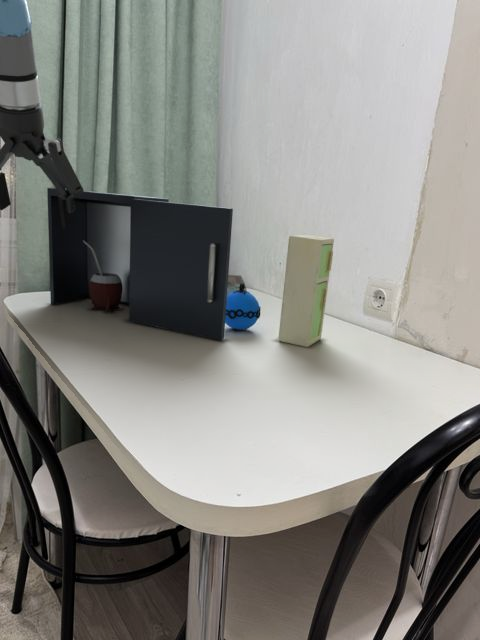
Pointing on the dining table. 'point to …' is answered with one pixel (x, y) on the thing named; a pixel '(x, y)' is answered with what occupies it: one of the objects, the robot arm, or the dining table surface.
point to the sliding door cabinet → (146, 257)
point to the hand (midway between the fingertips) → (36, 216)
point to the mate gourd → (104, 289)
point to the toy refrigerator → (305, 289)
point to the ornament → (241, 309)
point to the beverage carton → (234, 283)
